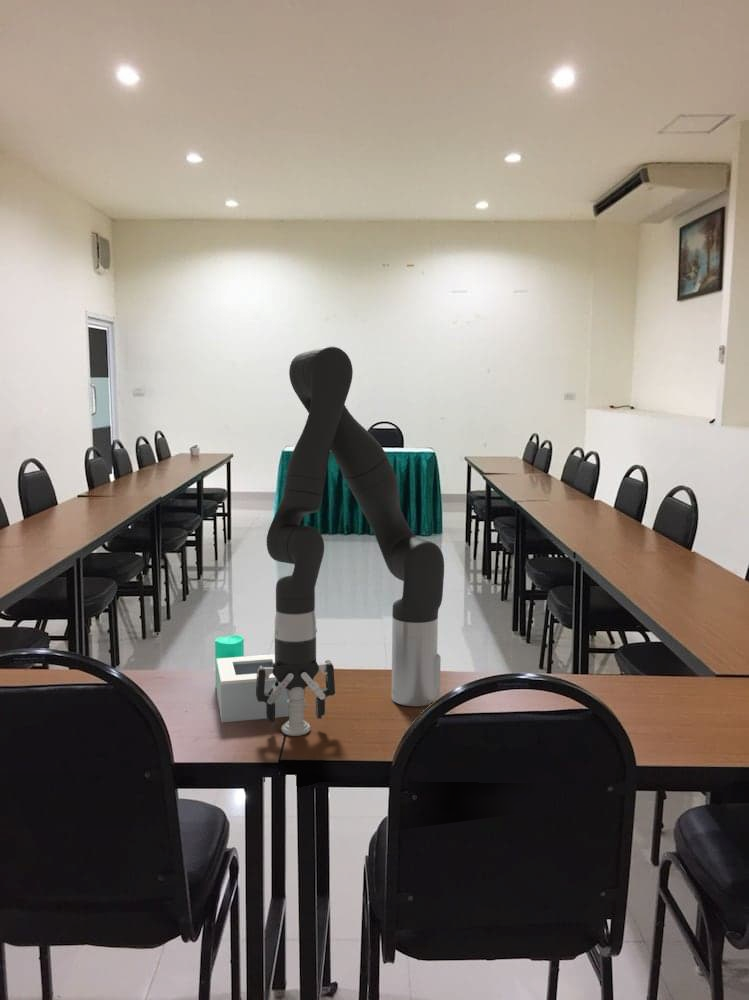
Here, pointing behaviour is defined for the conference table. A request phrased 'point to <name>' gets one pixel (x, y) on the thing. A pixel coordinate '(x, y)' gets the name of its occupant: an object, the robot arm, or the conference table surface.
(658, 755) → the conference table surface
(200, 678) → the conference table surface
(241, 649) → the candle
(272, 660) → the tissue box
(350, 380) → the robot arm
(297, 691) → the chess piece
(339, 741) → the conference table surface
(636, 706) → the conference table surface
